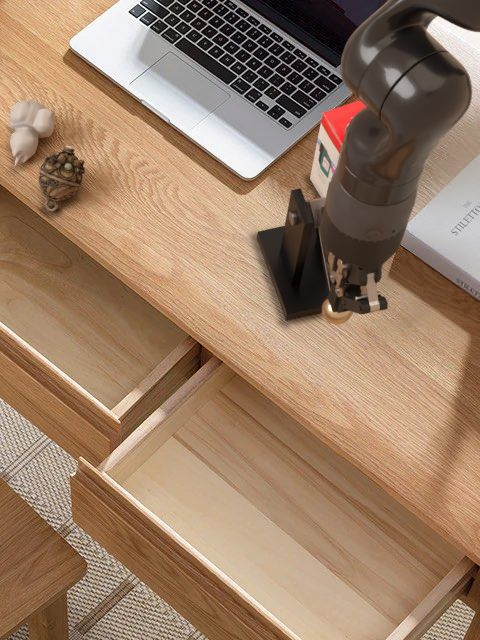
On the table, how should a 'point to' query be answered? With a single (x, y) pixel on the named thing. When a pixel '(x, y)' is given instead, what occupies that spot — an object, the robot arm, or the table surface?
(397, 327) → the table surface
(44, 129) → the white lobed figurine
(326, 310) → the lever with brass knob
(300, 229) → the lever base
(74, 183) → the pendant
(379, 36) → the robot arm
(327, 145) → the ink box
